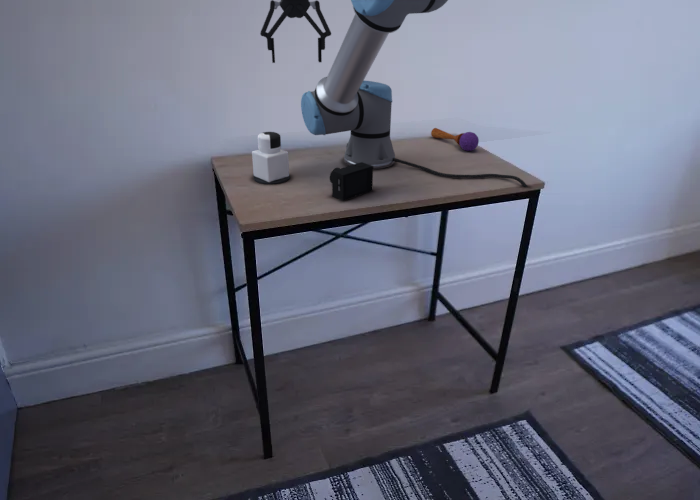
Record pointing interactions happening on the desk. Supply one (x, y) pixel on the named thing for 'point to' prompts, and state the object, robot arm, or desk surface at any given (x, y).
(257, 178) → the coaster
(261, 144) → the medicine bottle
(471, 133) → the maraca
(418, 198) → the desk surface
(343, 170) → the digital camera
